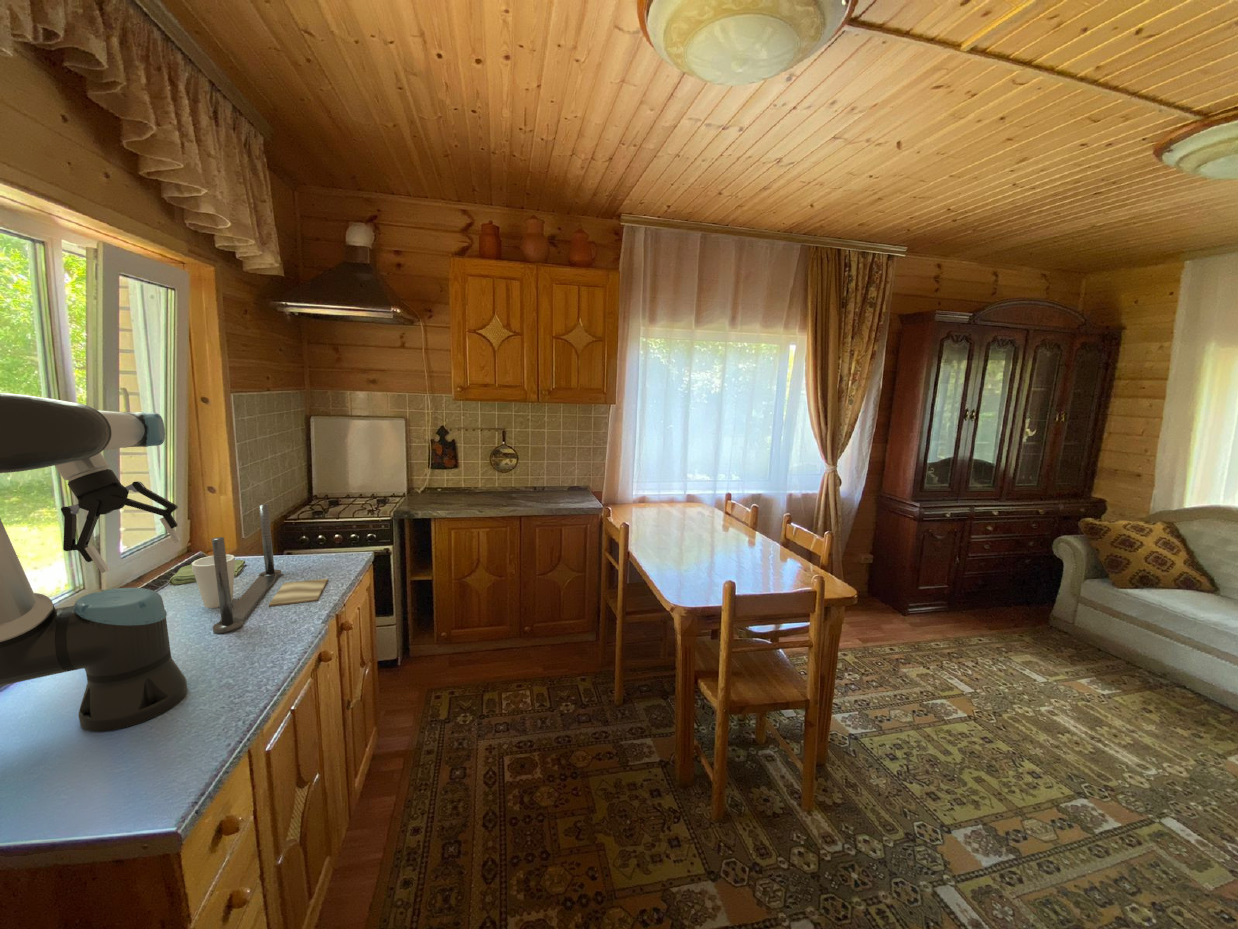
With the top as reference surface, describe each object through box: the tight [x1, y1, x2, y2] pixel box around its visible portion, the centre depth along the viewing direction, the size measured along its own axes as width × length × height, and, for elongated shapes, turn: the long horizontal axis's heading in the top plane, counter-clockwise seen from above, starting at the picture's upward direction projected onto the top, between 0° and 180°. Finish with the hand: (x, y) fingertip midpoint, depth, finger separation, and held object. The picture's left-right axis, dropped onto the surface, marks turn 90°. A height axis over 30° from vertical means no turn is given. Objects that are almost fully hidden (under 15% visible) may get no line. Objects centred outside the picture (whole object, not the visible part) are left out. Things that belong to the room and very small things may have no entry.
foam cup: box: [190, 553, 236, 609], centre depth 139 cm, size 10×9×13 cm
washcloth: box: [168, 559, 246, 586], centre depth 160 cm, size 13×18×3 cm
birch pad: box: [268, 578, 329, 607], centre depth 148 cm, size 16×12×1 cm
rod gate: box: [211, 503, 282, 635], centre depth 141 cm, size 42×6×24 cm, turn 21°
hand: (143, 556), depth 114 cm, fingers open, 13 cm apart
